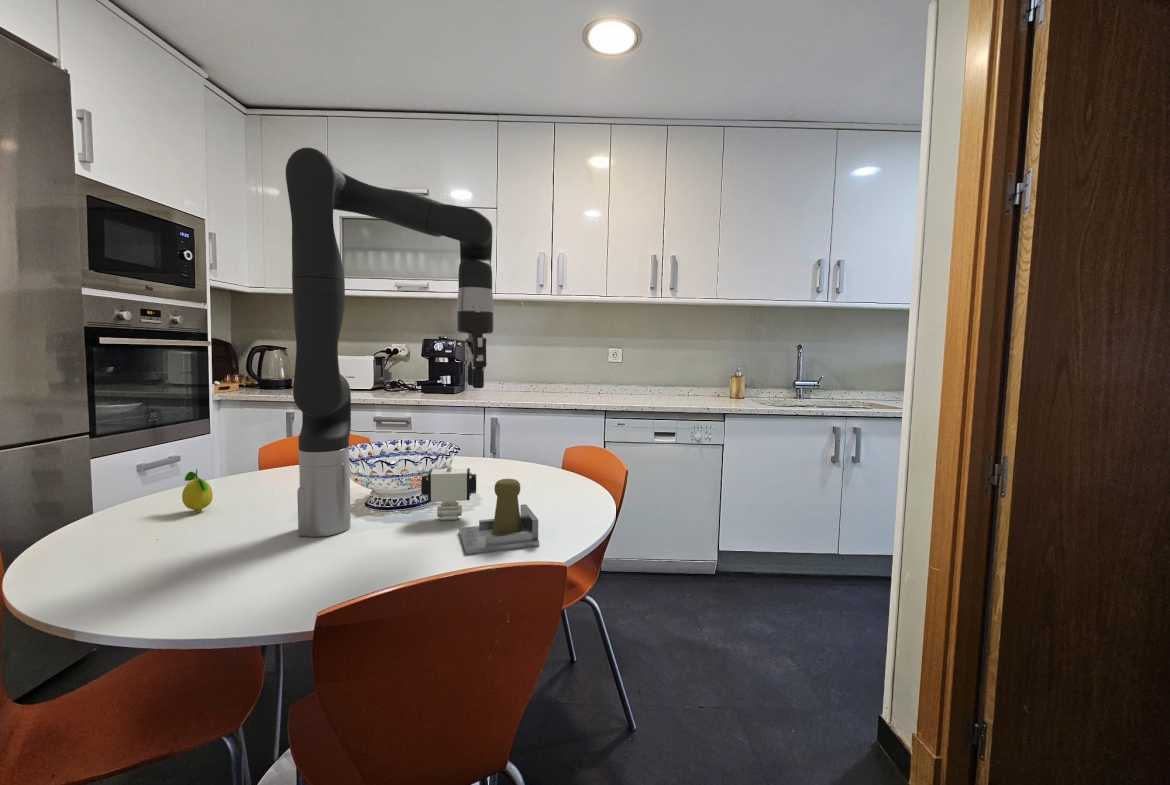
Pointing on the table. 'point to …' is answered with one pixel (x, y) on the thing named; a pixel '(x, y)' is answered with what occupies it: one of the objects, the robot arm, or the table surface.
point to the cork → (507, 507)
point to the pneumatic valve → (448, 490)
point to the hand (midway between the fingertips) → (475, 386)
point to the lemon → (196, 493)
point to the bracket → (500, 535)
